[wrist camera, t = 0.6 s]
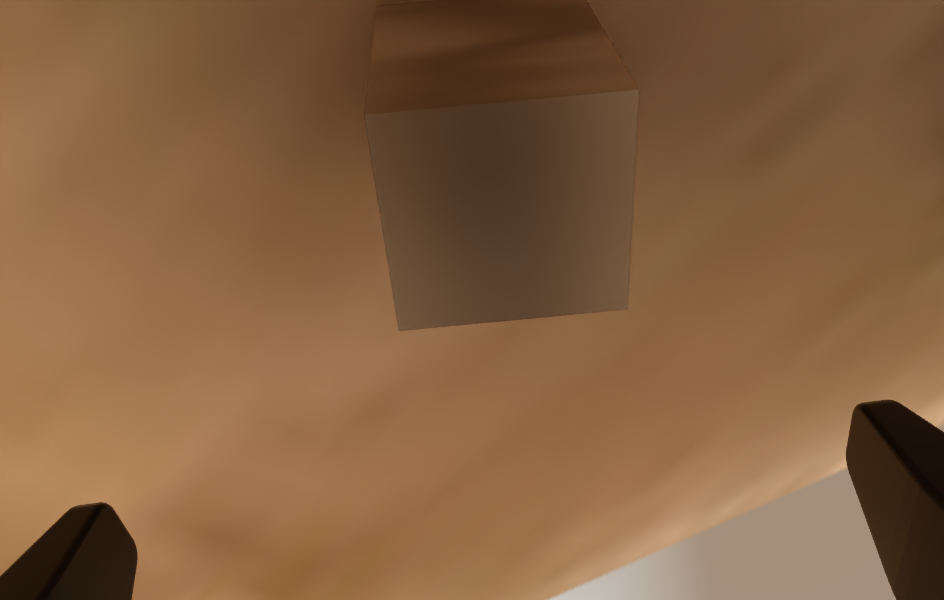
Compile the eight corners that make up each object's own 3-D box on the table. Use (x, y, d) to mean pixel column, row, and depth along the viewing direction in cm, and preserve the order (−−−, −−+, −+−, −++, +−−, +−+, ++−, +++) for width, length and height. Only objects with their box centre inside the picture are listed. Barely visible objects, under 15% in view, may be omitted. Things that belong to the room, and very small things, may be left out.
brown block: (577, -13, 18) (639, 89, 13) (577, 168, 21) (627, 309, 16) (377, 5, 18) (364, 115, 13) (401, 185, 21) (398, 330, 16)
